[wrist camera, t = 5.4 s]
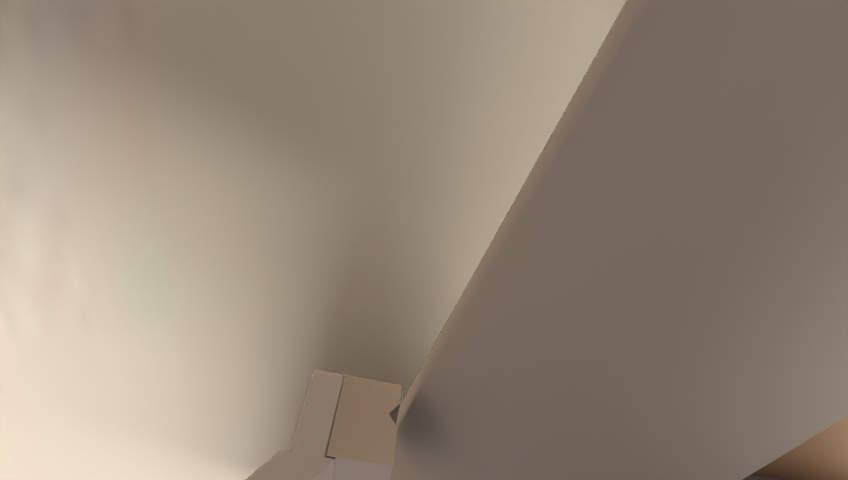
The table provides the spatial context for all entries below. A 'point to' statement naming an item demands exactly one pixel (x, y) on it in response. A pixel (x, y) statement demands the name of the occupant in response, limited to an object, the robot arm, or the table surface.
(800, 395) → the tube
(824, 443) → the bracket stand
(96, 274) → the table surface
